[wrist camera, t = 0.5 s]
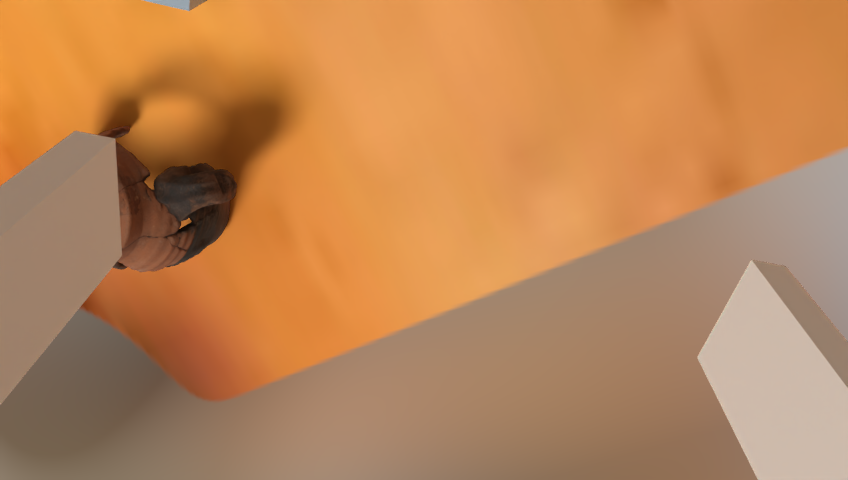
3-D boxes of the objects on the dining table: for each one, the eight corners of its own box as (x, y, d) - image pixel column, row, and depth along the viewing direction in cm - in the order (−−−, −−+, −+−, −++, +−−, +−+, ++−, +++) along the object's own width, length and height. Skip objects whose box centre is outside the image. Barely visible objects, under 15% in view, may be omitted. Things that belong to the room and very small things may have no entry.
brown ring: (170, 269, 48) (67, 298, 40) (130, 147, 47) (18, 154, 40) (291, 228, 42) (196, 254, 35) (246, 89, 41) (140, 85, 34)
